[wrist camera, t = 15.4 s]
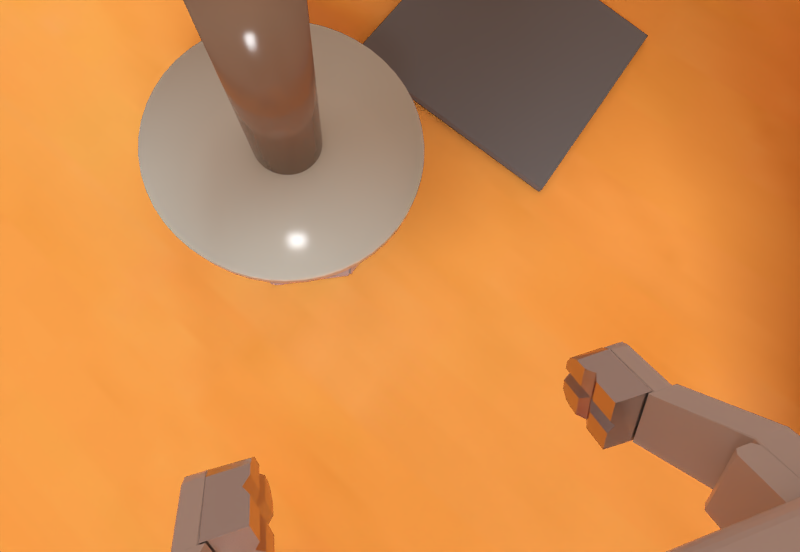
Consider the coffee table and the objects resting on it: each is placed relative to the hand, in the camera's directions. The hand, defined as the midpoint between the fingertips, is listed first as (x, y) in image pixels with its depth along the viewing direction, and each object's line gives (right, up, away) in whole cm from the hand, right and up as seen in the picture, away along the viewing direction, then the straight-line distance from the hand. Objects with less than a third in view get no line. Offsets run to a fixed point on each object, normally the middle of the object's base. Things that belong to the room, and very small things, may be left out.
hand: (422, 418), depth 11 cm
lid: (-6, +9, +9) cm, 14 cm away
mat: (+6, +18, +17) cm, 26 cm away
